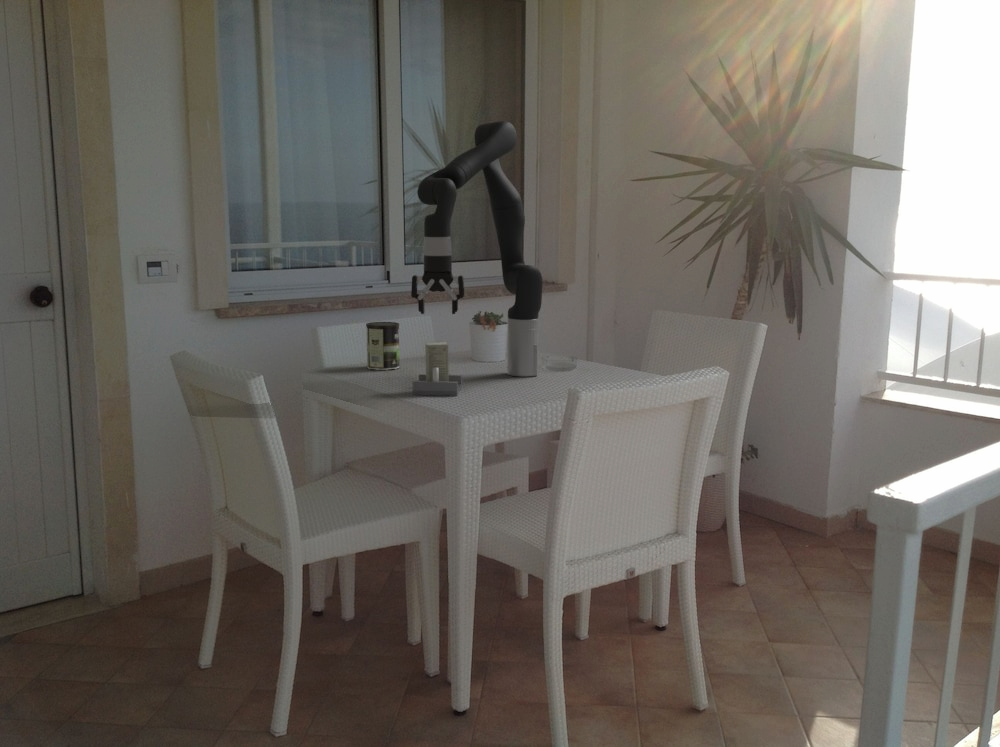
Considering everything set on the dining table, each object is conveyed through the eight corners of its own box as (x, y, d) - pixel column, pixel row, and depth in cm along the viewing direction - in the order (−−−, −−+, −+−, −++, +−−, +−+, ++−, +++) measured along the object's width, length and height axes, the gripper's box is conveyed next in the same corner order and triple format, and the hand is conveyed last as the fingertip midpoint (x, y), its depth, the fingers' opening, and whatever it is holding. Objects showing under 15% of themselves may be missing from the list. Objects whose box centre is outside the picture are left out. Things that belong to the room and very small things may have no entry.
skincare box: (447, 384, 263) (447, 341, 261) (449, 388, 259) (449, 344, 256) (425, 385, 262) (425, 341, 260) (426, 388, 258) (425, 344, 256)
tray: (461, 387, 266) (461, 362, 265) (457, 395, 254) (457, 369, 253) (419, 386, 267) (419, 361, 266) (412, 394, 255) (412, 368, 254)
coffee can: (400, 365, 302) (399, 321, 299) (399, 370, 292) (398, 325, 289) (367, 365, 301) (367, 321, 299) (365, 370, 291) (364, 325, 288)
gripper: (465, 253, 257) (465, 312, 260) (413, 252, 258) (414, 311, 261) (462, 254, 250) (462, 315, 253) (409, 254, 251) (409, 315, 253)
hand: (438, 313), depth 257 cm, fingers open, 8 cm apart
